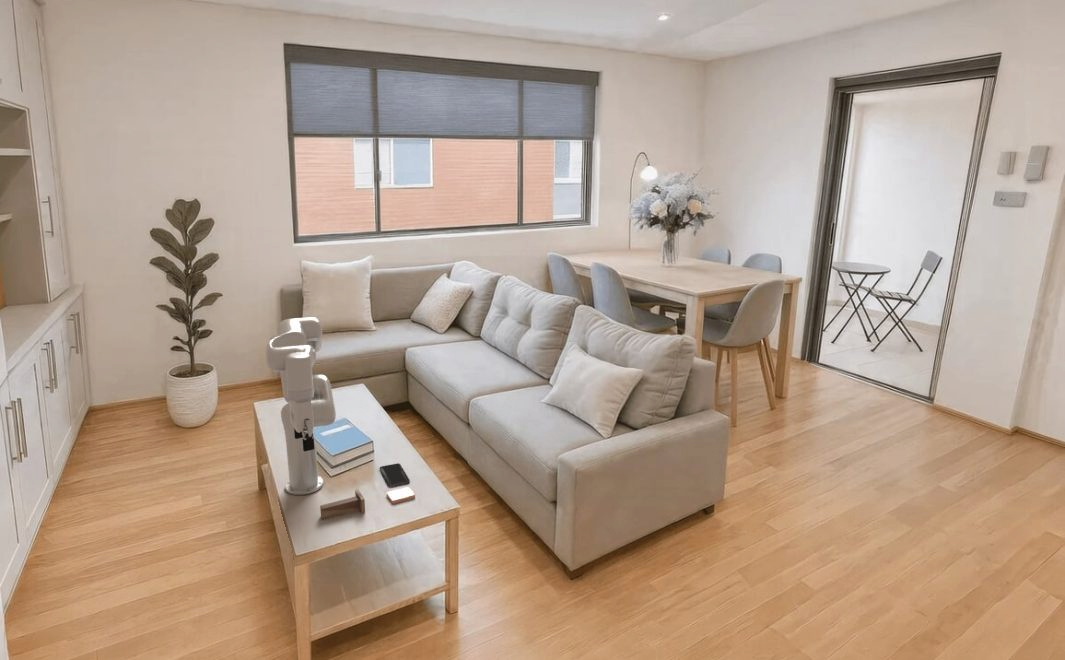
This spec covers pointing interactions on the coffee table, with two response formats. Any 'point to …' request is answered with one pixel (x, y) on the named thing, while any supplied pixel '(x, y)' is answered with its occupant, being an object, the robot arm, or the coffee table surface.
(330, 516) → the post on base stand
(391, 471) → the phone
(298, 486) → the robot arm
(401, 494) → the tile
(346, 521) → the coffee table surface
